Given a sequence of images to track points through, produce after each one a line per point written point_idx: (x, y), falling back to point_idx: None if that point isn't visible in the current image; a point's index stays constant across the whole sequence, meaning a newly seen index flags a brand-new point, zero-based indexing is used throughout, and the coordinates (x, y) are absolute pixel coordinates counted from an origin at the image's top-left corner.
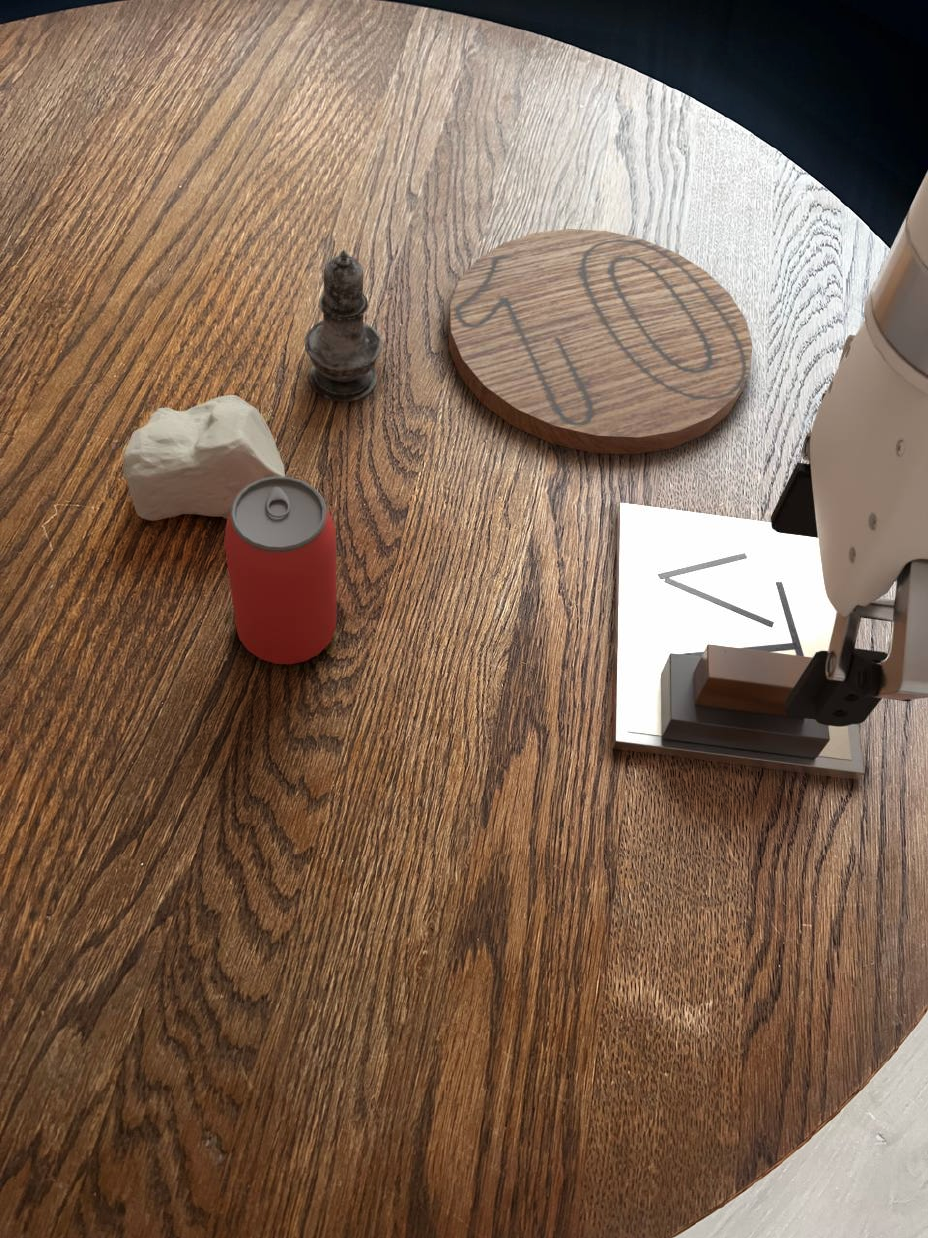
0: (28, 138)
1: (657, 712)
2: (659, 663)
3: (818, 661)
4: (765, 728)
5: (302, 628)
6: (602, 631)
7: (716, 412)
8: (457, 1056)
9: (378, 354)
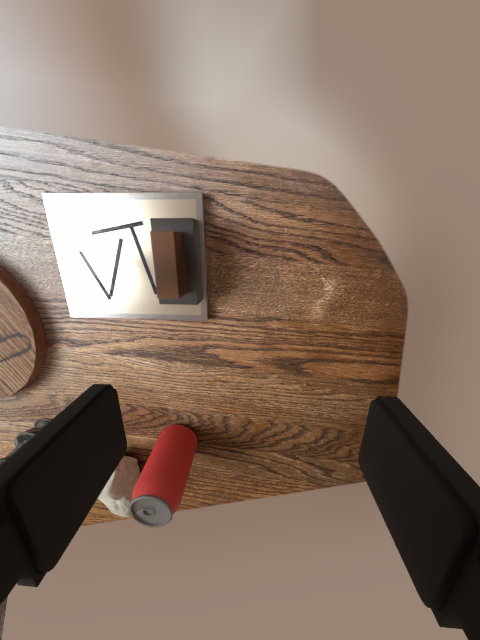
0: None
1: None
2: None
3: (460, 627)
4: (193, 255)
5: (188, 452)
6: (148, 322)
7: None
8: (343, 372)
9: (31, 433)
